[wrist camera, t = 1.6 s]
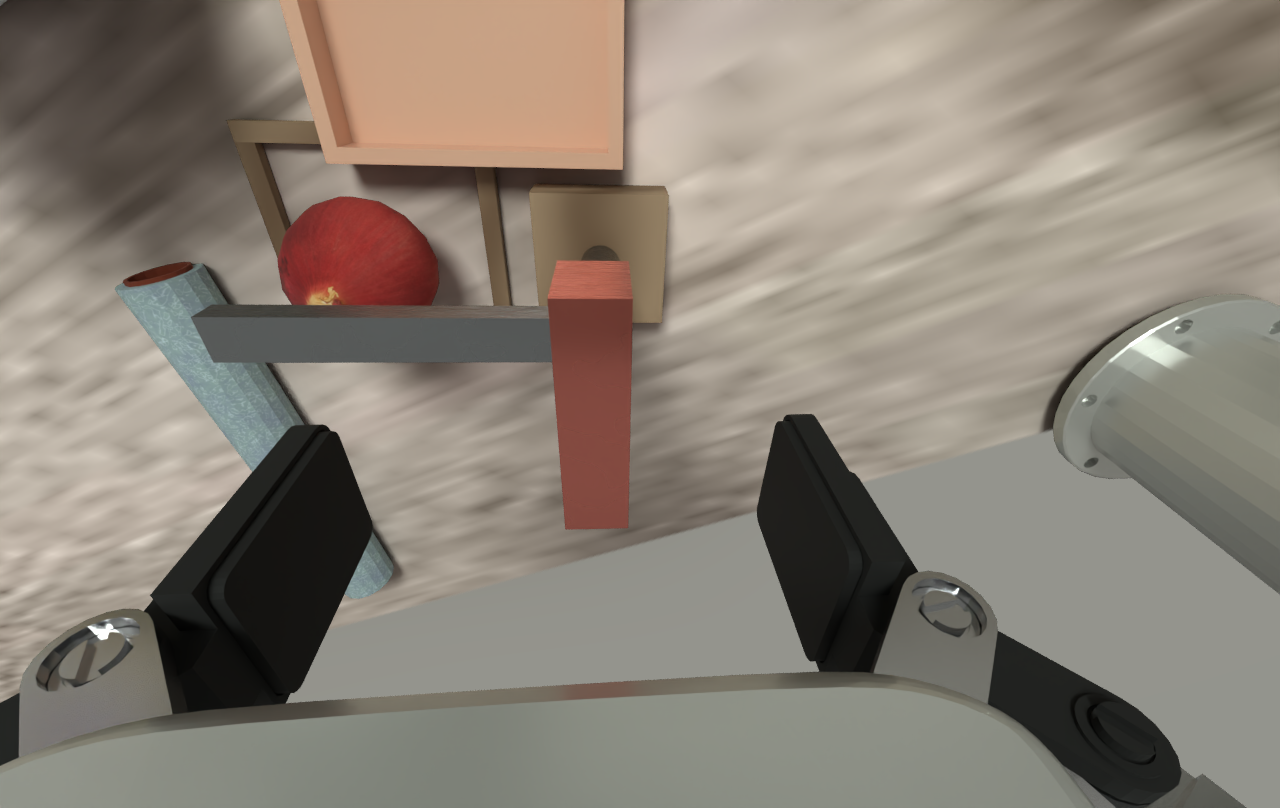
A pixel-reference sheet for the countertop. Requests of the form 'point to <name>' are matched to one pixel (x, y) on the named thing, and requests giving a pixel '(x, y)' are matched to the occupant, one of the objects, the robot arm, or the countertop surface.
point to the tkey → (485, 360)
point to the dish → (463, 81)
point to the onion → (356, 257)
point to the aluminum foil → (227, 381)
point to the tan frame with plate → (557, 214)
